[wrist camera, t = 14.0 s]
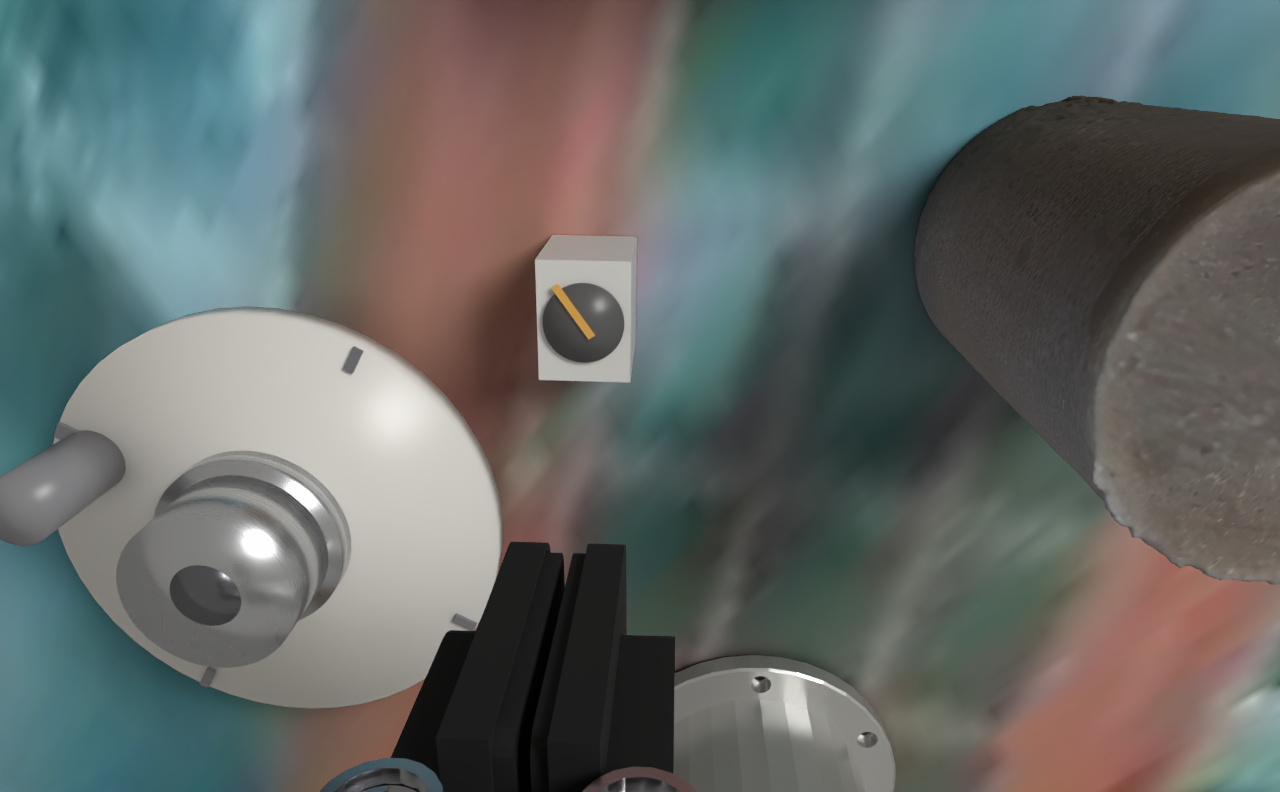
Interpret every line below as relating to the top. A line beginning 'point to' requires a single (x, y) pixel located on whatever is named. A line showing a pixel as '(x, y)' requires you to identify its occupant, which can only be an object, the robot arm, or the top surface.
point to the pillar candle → (1128, 309)
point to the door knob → (234, 559)
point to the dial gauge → (586, 308)
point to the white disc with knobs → (307, 436)
